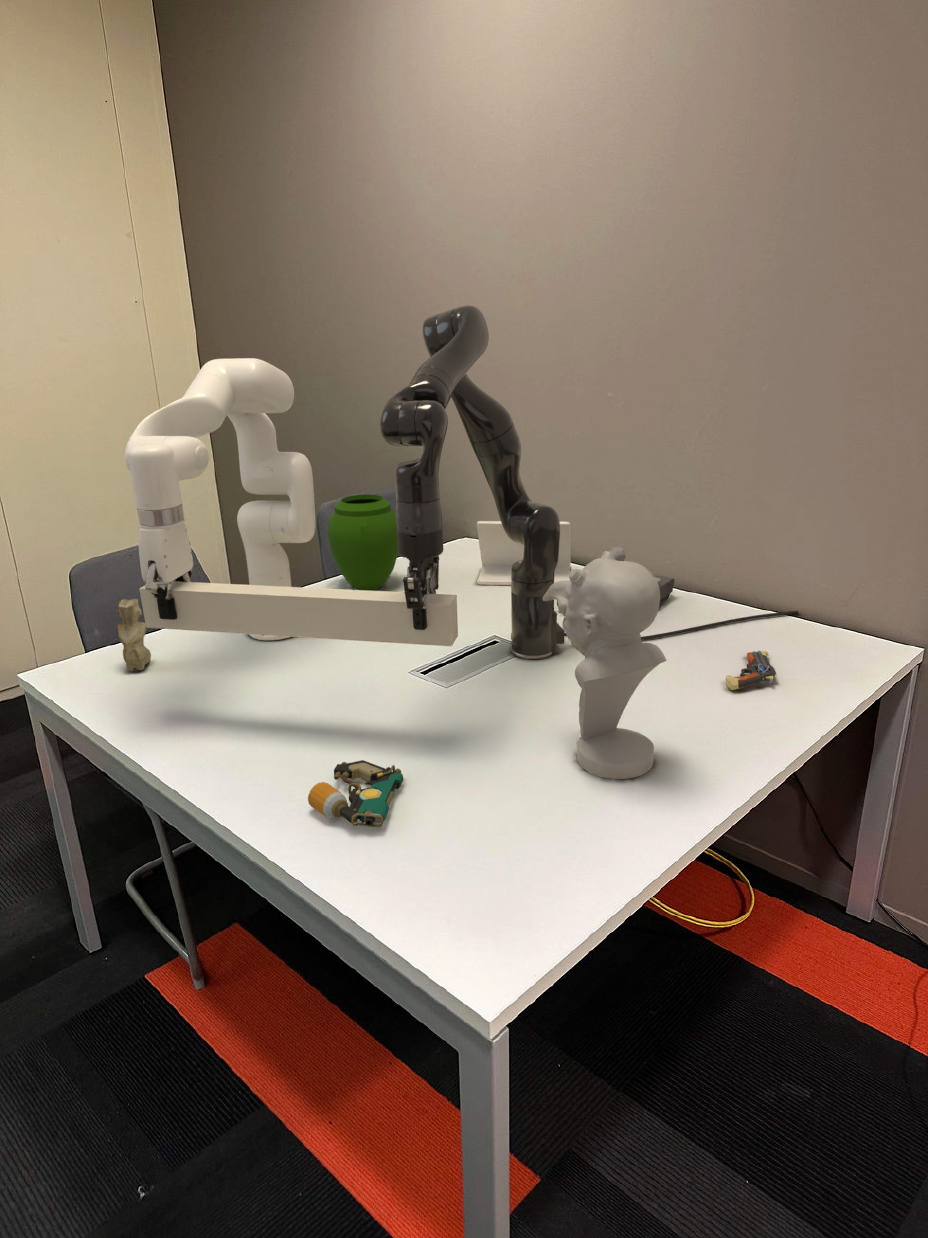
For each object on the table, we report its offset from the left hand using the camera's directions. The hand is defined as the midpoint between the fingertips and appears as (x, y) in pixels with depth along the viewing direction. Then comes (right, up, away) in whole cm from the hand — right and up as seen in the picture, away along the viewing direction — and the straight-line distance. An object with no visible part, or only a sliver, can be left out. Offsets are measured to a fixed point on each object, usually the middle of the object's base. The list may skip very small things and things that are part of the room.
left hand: (176, 612), depth 155 cm
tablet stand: (+70, +11, +84) cm, 109 cm away
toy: (+91, +2, +59) cm, 108 cm away
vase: (+26, +7, +78) cm, 82 cm away
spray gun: (+36, -30, -22) cm, 52 cm away
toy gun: (+110, -12, +18) cm, 112 cm away
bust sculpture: (+75, -24, -10) cm, 79 cm away
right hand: (+46, -2, -10) cm, 47 cm away
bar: (+23, -3, -4) cm, 24 cm away
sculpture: (-19, -12, +30) cm, 38 cm away
